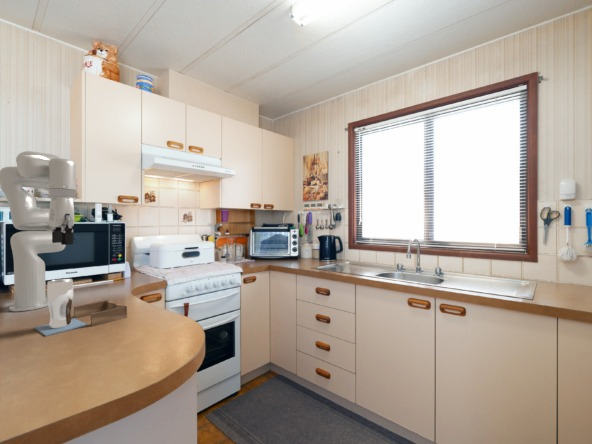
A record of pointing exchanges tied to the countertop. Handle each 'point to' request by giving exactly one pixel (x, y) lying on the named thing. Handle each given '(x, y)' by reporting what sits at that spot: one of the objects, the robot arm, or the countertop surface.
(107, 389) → the countertop surface
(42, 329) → the mat
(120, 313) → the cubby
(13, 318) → the countertop surface
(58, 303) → the beer glass
